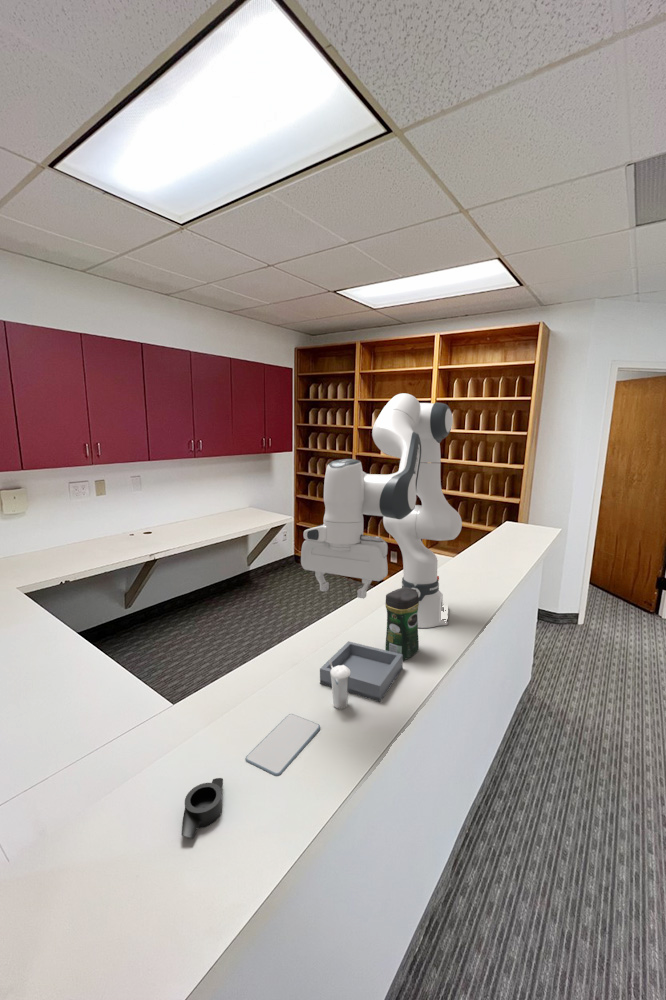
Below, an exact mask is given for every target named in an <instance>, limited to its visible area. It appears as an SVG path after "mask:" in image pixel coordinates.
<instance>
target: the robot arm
mask: <svg viewBox="0 0 666 1000" xmlns="http://www.w3.org/2000/svg"><path fill="white" fill-rule="evenodd" d="M453 418H454V417H453V413H452V410H451V408H450V406H449V405H448V404H446V403H443V402H434V403H433V402H432V403H431V402H419V400H418V399H417V398H416V397H415V396H414V395H412V394H409V393H405V392H404V393H403V392H402V393H398V394H395V395H394V396H393V397H392V398H391V399H390V400H388V402H387V403H386V405H384V406H383V408H382V410H381V412H380V413H379V414H378V417H377V418H376V419H375V421H374V424H373V427H372V431H371V432H372V433H371V436H372V439H373V442H374V444H375V445H376V447H377V448H378V449H379V450H380V451H381V452H382V453H384V454H385V455H386V456H390V457H395V458H397V459H400V460H399V466H398V467H399V468H398V471H396V472H394V473H390V474H389V473H388V474H383V473H381V474H378V473H377V474H376V473H374V474H373V473H372V474H371V473H367V472H365V471H363V465H362V462H361V460H359V459H356V458H355V459H354V458H343V459H336V460H332V461H331V462H329V463H328V464H327V466H326V470H325V475H324V481H323V482H324V484H323V503H324V507H325V509H324V515H323V524H318V525H317V526H314V527H311V528H307V529H305V530H304V531H303V534H302V535H303V539H304V541H303V542H302V545H301V553H300V564H301V567H302V569H304V571H312V572H314V574H315V575H314V576H315V578H316V580H317V582H318V583H319V591H321V592H325V593H326V592H328V591H329V590H330V587H329V586H330V582H329V581H326V579H325V576H324V575H326V574H331V575H338V576H342V577H343V576H344V577H350V578H355V579H361V583H362V584H363V585H362V587H360V588H359V589H357V590H356V591H357V592H356V593H357V596H356V597H357V598H359V599H363V600H364V599H365V598H367V596H368V595H367V592H368V591H367V590H368V589H369V587H370V586H371V583H372V582H373V581H375V582H380V581H382V580H384V579H385V578H386V577H387V576H388V573H389V570H388V559H387V555H388V552H389V551H388V549H389V547H388V542H387V541H385V539H383V538H382V537H381V536H373V535H367V534H364V521H365V520H364V515H366V516H375V517H376V516H377V517H382V523H383V527H384V529H385V531H386V532H387V533H388V534H389V535H391V537H393V539H394V540H395V542H396V543H397V545H398V546H399V549H400V551H401V556H402V565H403V568H402V570H403V571H402V572H403V573H402V574H403V577H401V578H402V579H401V588H403V587H408V588H411V589H415V590H416V591H417V593H418V597H419V606H418V615H417V618H418V629H419V628H423V629H426V628H427V629H428V628H433V627H438V626H448V624H449V621H448V622H447V621H444V620H446V619H442V620H441V611H443V612H444V607H442V606H443V605H444V604H445V603H444V602H443V601H444V600H443V599H444V597H443V592H441V591H440V583H439V581H440V576H439V575H438V564H439V563H438V557H437V555H436V554H435V552H433V551H432V550H431V549H429V548H427V547H426V546H425V545H424V542H423V541H422V540H431V541H439V542H440V541H441V542H442V541H451V540H453V541H454V540H455V539H456V538H457V537H458V536H459V535H460V533H461V531H462V527H463V520H462V517H461V515H460V513H459V512H458V511H457V510H456V509H455V508H454V507H453V506H452V505H451V504H449V502H448V501H447V499H446V497H445V495H444V493H443V490H442V482H441V481H442V479H441V461H442V460H441V458H442V457H441V455H442V454H441V445H440V443H442V441H443V440H444V439H446V437H448V435H449V434H450V432H451V431H452V427H453V422H454V421H453V420H454V419H453ZM417 496H418V498H419V500H420V501H421V505H420V504H417ZM445 611H446V610H445ZM449 611H450V609H449V610H448V616H449V613H450V612H449ZM445 622H446V623H445Z"/></svg>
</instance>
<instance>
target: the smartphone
mask: <svg viewBox="0 0 666 1000" xmlns="http://www.w3.org/2000/svg"><path fill="white" fill-rule="evenodd" d="M320 730H321V725H320V724H319V723H317V722H315V721H311V720H309V719H306V718H304V717H301V716H299V715H296V714H294V713H289V714H288V715H287V716H285V717H284V719H282V720H281V721H280V722H279V723H278V725H276V726H275V727H274V728H273V729H272V730H271V731H270V733H268V734H267V735H266V736H265V737H264V738H263V739H262V740H261V741H260V742H259V743H258V744H257V745H256V746H255V747H254V748H253V749H252V750H251V751H250V752H249V753H248V754H247V755H246V756H245V759H244V760H245V762H246V763H248V764H250V765H253V766H255V767H256V768H259V769H261V770H263V771H264V772H267V773H269V775H272V776H274V777H279V776H281V775H282V774H283V773H284V772H285V771H286V769H288V767H289V766H290V765H291V764H292V762H293V761H294V760H295V759H296V758H298V757H297V756H299V755H300V753H301V752H302V751H303V749H305V747H306V746H307V745H308V744H309V743H310V742H311V741H312V740H313V738H315V736H316V734H318V732H319V731H320Z"/></svg>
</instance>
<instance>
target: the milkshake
mask: <svg viewBox="0 0 666 1000" xmlns="http://www.w3.org/2000/svg"><path fill="white" fill-rule="evenodd" d="M328 660H329V659H328ZM329 662H330V665H331V668H332V669H331V671H330V675H331V683H332V687H331V691H332V703H333V704H332V705H333V706H334V708H336V709H337V710H343V709H346V708H347V707H348V706H349V694H350V693H349V681H350V669H349V668H348V667H346V666H345V665H338V666H335V667H333V666H332V663H331V660H329Z"/></svg>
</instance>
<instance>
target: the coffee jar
mask: <svg viewBox="0 0 666 1000" xmlns="http://www.w3.org/2000/svg"><path fill="white" fill-rule="evenodd" d="M384 604H385V608H386V632H385V633H386V634H385V635H386V637H385V648H384V650H386V651H390V652H395V653H399V654H403V661H404V660H407V659H409V658H412V657H413V656H414V655H416V654H417V653H418V652H419V649H420V645H419V644H420V643H419V642H420V641H419V628H418V618H417V615H418V606H419V597H418V593H417V591H416V590H415V589H411V588H408V587H403V588H402V587H401V588H397V589H394V590H392V591H390V592H388V593H386V595H385V603H384Z"/></svg>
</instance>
